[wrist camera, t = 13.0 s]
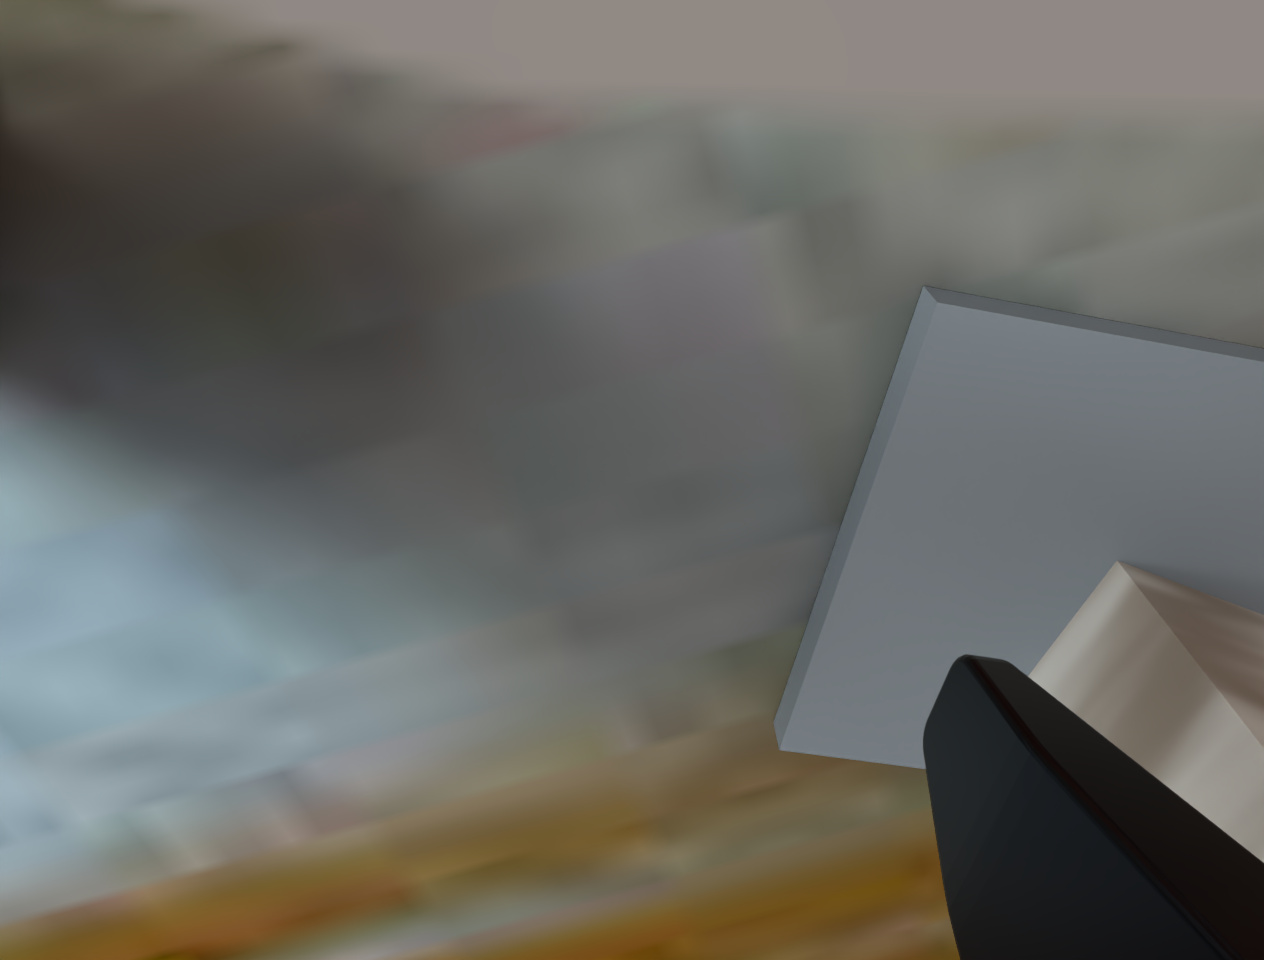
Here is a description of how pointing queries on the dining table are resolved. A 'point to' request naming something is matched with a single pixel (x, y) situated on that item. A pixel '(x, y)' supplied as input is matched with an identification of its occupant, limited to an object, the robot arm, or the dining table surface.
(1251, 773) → the cream block
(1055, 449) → the slate board
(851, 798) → the dining table surface
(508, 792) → the dining table surface
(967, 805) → the robot arm
